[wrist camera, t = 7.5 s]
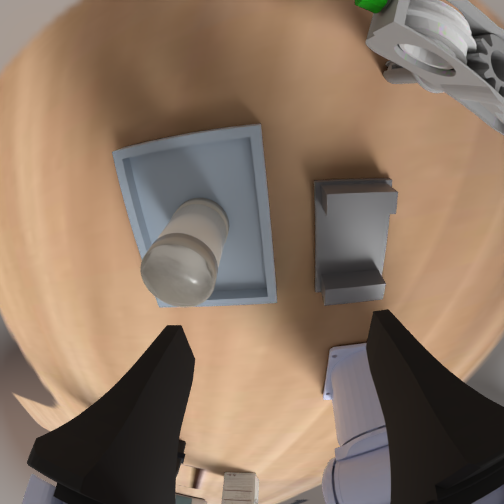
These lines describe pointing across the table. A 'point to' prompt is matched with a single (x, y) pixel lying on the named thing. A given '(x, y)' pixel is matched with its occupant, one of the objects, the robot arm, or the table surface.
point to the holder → (351, 237)
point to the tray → (211, 187)
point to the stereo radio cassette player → (188, 500)
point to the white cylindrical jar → (187, 254)
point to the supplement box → (240, 488)
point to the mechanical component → (442, 51)
